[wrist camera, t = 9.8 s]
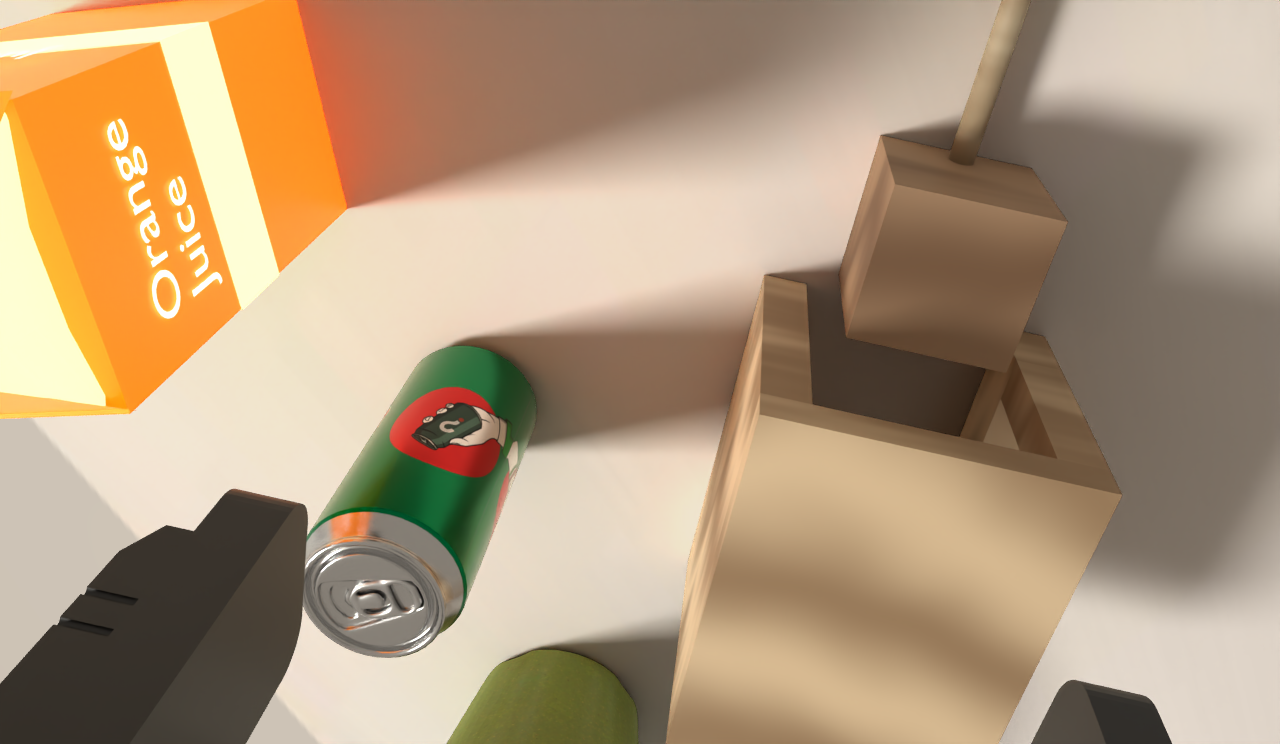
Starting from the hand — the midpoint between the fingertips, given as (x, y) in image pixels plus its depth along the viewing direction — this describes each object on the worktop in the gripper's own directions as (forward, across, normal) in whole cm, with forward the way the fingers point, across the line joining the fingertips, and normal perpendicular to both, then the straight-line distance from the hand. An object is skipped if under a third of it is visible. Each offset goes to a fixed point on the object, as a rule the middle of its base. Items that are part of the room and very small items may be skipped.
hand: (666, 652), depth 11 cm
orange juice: (+27, +18, +5) cm, 33 cm away
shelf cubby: (+27, -8, +12) cm, 30 cm away
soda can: (+27, +7, +13) cm, 31 cm away
